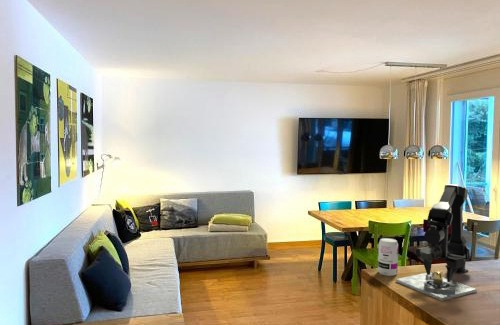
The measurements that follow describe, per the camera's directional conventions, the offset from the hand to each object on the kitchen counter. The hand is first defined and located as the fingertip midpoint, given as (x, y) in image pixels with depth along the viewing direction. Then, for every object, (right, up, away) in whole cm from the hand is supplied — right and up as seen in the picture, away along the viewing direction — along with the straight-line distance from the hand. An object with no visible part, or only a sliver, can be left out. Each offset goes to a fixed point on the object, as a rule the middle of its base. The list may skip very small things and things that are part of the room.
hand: (438, 278), depth 157 cm
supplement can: (-13, -4, +20) cm, 24 cm away
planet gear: (0, -4, 0) cm, 4 cm away
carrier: (0, -5, +4) cm, 6 cm away
